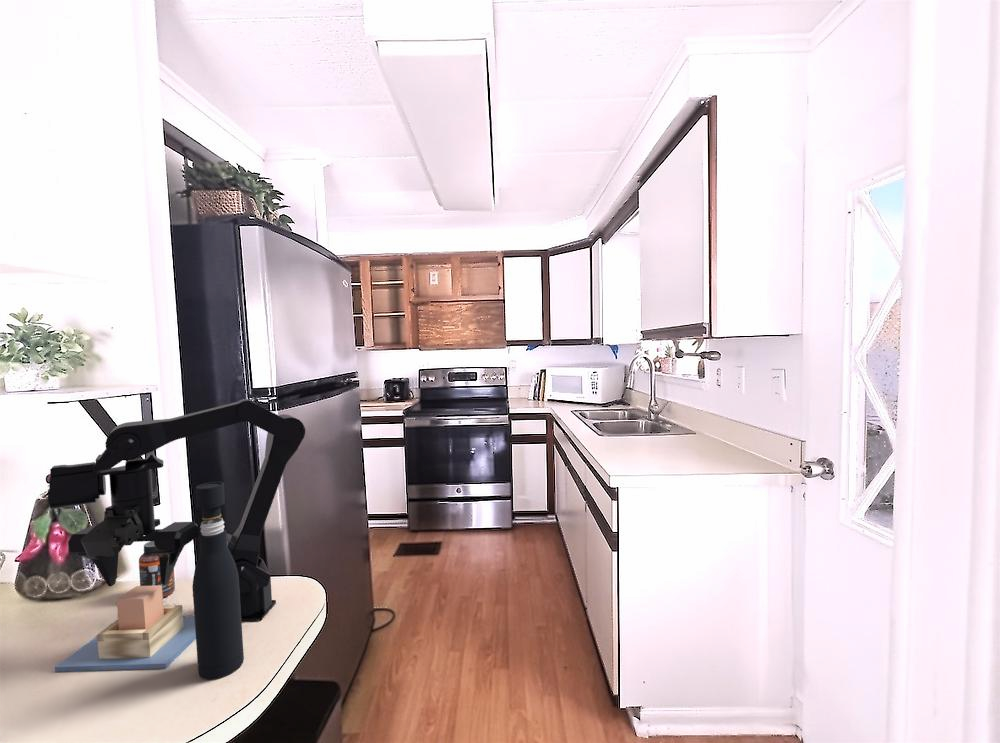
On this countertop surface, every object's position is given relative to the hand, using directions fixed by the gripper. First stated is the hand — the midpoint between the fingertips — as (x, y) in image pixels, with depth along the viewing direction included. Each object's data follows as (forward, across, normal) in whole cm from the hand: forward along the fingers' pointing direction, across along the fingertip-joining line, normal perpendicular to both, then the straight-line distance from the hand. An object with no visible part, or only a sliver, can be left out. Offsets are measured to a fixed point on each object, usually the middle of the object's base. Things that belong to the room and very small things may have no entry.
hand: (138, 584), depth 84 cm
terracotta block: (+7, 0, 0) cm, 7 cm away
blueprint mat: (+11, -1, +1) cm, 11 cm away
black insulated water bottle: (+11, +17, -6) cm, 22 cm away
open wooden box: (+11, 0, 0) cm, 11 cm away
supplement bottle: (+11, -10, +18) cm, 23 cm away
